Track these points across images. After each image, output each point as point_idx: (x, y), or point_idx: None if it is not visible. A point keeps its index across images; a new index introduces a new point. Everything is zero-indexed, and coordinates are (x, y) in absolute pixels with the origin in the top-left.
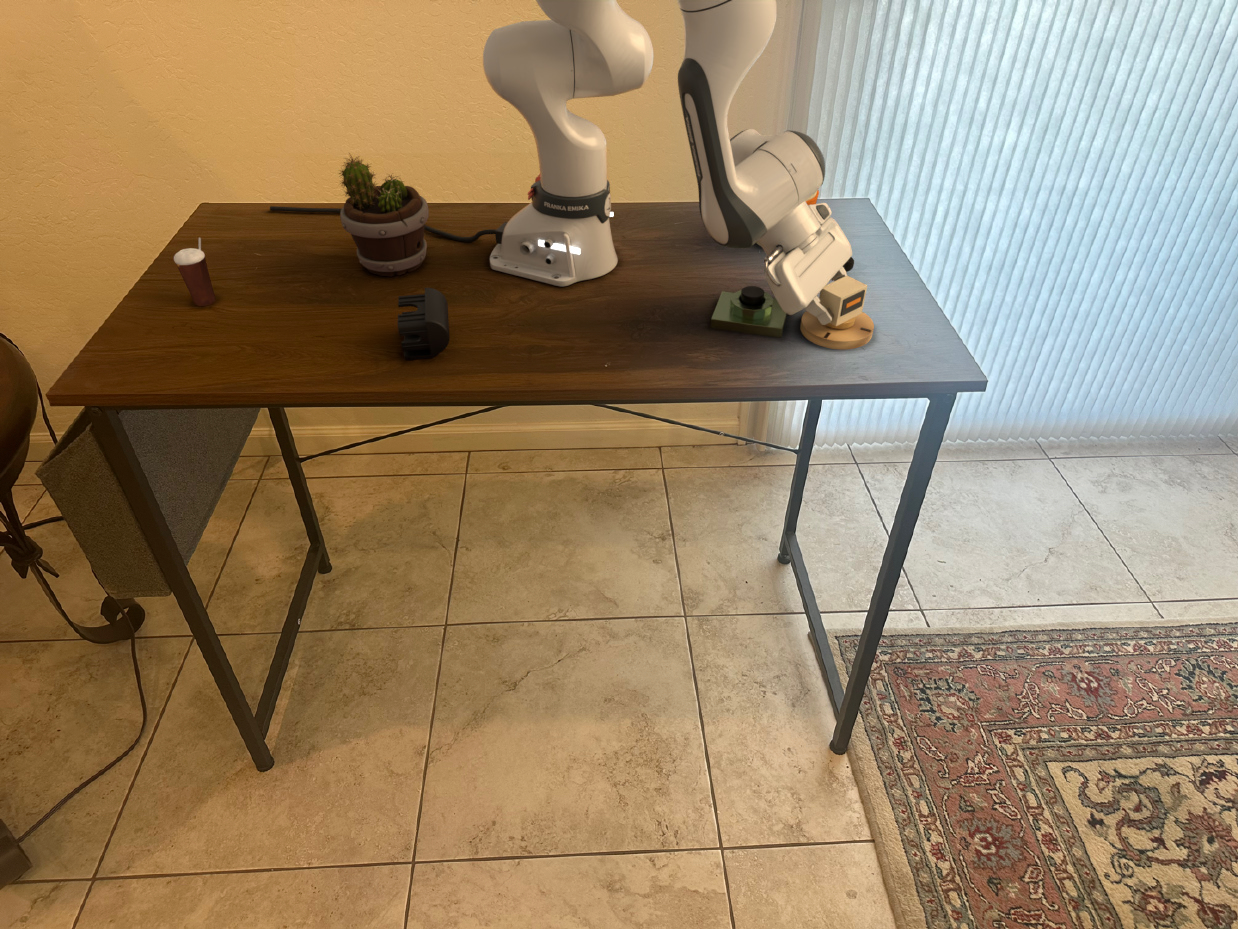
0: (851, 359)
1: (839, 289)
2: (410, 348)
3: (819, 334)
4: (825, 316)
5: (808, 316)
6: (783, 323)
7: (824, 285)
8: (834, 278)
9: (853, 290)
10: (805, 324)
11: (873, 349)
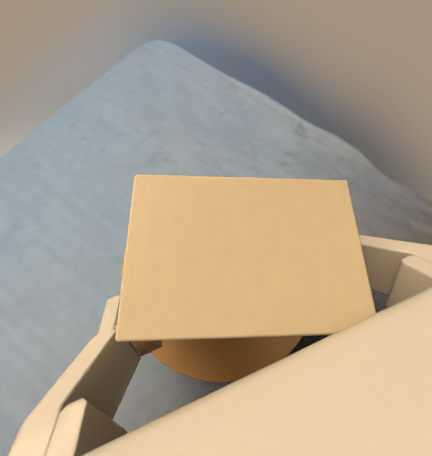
0: (277, 176)
1: (299, 240)
2: None
3: None
4: None
5: (268, 345)
6: None
7: (403, 305)
8: (117, 428)
9: (241, 186)
10: None
11: (214, 170)
